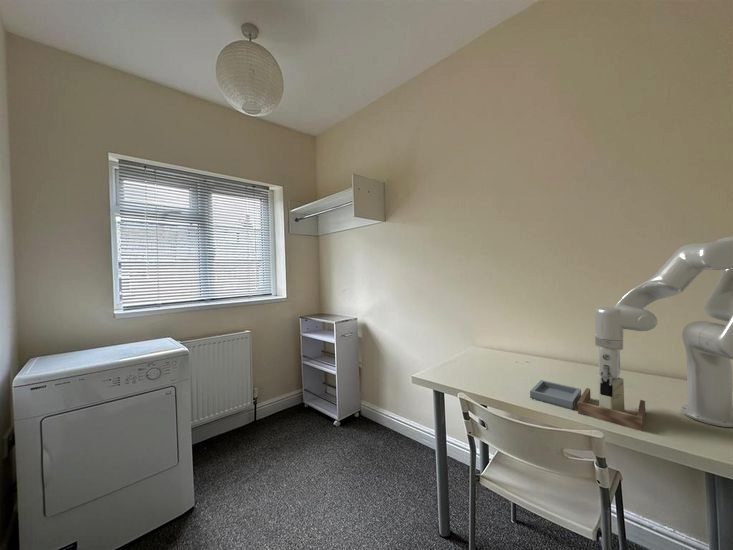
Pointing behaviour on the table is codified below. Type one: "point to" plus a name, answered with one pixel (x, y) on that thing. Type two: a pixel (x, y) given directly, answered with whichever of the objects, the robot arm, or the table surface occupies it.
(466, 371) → the table surface
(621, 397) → the skincare box
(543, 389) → the tray
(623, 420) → the frame
